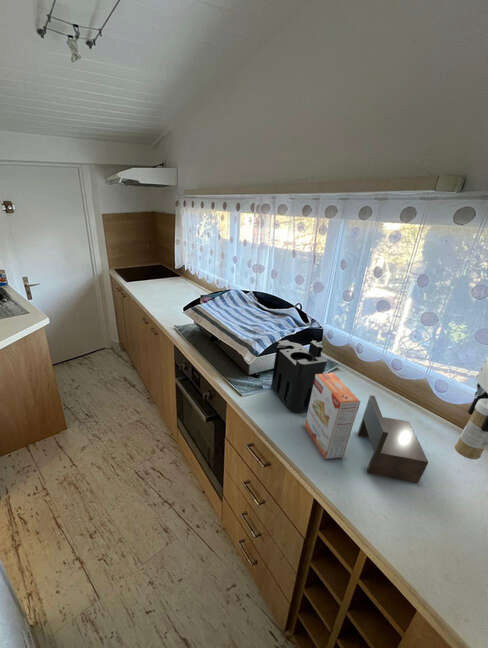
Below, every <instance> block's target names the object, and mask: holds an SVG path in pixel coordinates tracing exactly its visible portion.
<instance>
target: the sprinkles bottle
mask: <svg viewBox="0 0 488 648" xmlns="http://www.w3.org/2000/svg"><path fill="white" fill-rule="evenodd" d="M487 416H488V399H480V400H478V402H477V404H476V406H475V410H474V412H473V414H472V415H470V417H469V419H468V421H467V423H466V424H465V426H464V428H463V430H462V432H461V434H460V436H459V438H458V440H457V442H456V444H455V445H454V450H455V452H456V453H458V454H459V455H460V456H462V457H464V458H466V459H469V460H479V459H480V458H481V457H482V454H483V452H484V450H485V448H487V446H488V432H485V431H482V430H481V427H482V425H483V423H484V421H485V419H486V418H487Z"/></svg>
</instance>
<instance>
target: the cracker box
mask: <svg viewBox="0 0 488 648" xmlns="http://www.w3.org/2000/svg"><path fill="white" fill-rule="evenodd" d="M360 404H361V400H360V399H359V398H358V397H357V395H355V394H354V393H353V391H352V390H351V389H349V388H348V386H346V384H345V383H344V382H343V381H342V380H341V379H340V378H339V377H338V376H337V375H336V374H335V372H326V373H325V372H323V374H316V375H315V380H314V384H313V389H312V394H311V399H310V403H309V408H308V411H307V413H306V418H305V423H304V428H305V429H306V431H307V432H308V434H309V436H310V438H311V439H312V441H313V442H314V443H315V447H316V448H317V449H318V451H319V452H320V454H321V455H322V457H323V459H324V460H330V459H341V458H342V459H343V458H344V456H345V452H346V449H347V445H348V443H349V439H350V437H351V433H352V430H353V426H354V424H355V420H356V418H357V414H358V411H359V407H360Z"/></svg>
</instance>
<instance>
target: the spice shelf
mask: <svg viewBox="0 0 488 648" xmlns="http://www.w3.org/2000/svg"><path fill="white" fill-rule="evenodd" d="M362 415H363V416H362V419H361V421H360V425H359V427H358V431H357V436H358V437H360V438H367V439H369V442H370V445H371V449H372V455H371V456H370V460H369V462H368V465H367V468H366V473H367V474H370V475H375V476H380V477H384V478H390V479H392V480H393V479H394V480H399V481H403V482H409V483H411V484H412V483H413V484H419V482H420V481H421V479H422V477H423V475H424V473H425V471H426V469H427V467H428V465H429V460H428V458H427V456H426V454H425V451H424V449H423V448H422V445H421V443H420V441H419V440H418V437H417V435H416V433H415V431H414V429H413V427H412V425H411V423H410V421H409V420H404V419H398V418H390V417H386V416H383V414H382V412H381V410H380V407H379V404H378V401H377V399H376V396H375V395H369V397H368V401H367V404H366V407H365V409H364V412H363V414H362Z"/></svg>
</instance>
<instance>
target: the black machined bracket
mask: <svg viewBox="0 0 488 648" xmlns="http://www.w3.org/2000/svg"><path fill="white" fill-rule="evenodd" d="M323 349H324V346H323V345H322V344H318V341H317V340H313V339H312V341H310V342H309V347H308V349H307V348H306V347H305V346H304V345H302V344H300V343H297V342H292V341H289V339H285V340H277V343H276V349H275V357H274V364H273V370H272V378H271V385H270V388H271V390H272V391H273V393H274V394H275V395H276V396H277V397H278V399H279V400H280V401H281V402H282V403H283V405H284V406H285V407H286V409H288V410H289V411H291V412H292V413H304V412H308V408H309V403H310V399H311V394H312V389H313V384H314V380H315V375H316V374H324V373H325V370H326V366H327V363H328V361H329V359H327V358H326V357H325V356H322V352H323Z"/></svg>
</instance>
